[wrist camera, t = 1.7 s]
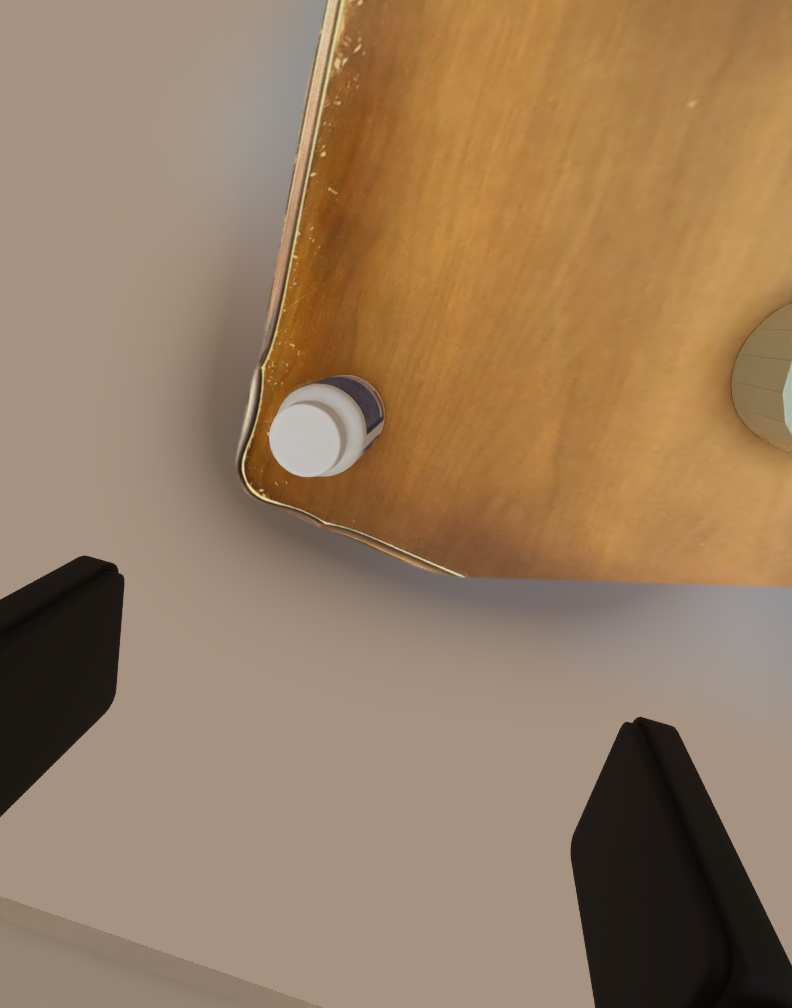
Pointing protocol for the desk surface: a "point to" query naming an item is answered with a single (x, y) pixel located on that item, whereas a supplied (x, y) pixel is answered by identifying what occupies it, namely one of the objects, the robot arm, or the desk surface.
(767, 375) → the open cylindrical container
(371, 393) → the pill bottle
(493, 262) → the desk surface
